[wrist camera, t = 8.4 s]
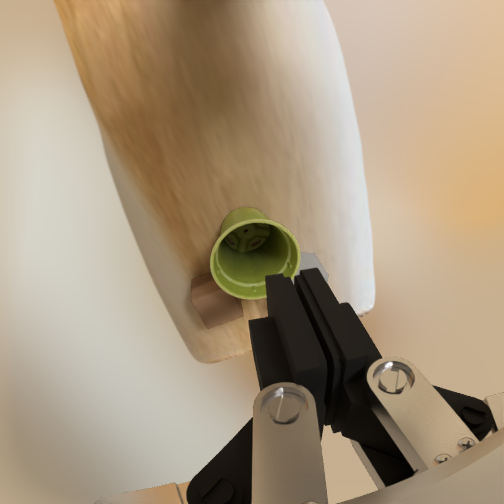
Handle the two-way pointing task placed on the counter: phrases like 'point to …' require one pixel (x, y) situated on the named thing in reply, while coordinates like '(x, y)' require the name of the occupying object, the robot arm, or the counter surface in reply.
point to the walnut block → (214, 302)
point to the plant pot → (252, 253)
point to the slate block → (311, 264)
